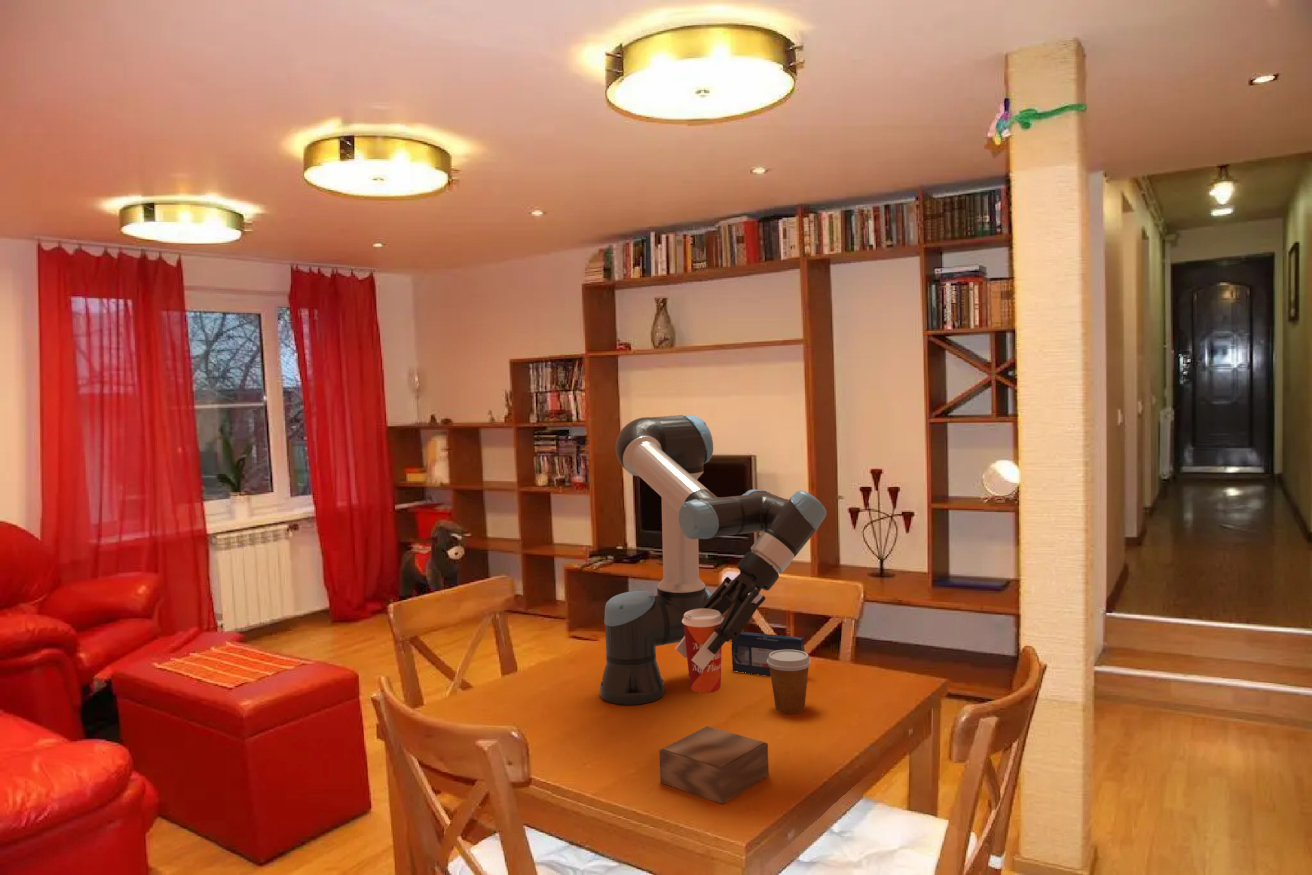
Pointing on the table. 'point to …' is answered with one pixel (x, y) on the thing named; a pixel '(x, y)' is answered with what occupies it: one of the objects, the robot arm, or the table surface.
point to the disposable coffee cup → (789, 679)
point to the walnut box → (714, 764)
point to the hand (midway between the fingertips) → (688, 658)
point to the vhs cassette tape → (760, 651)
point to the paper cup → (696, 634)
